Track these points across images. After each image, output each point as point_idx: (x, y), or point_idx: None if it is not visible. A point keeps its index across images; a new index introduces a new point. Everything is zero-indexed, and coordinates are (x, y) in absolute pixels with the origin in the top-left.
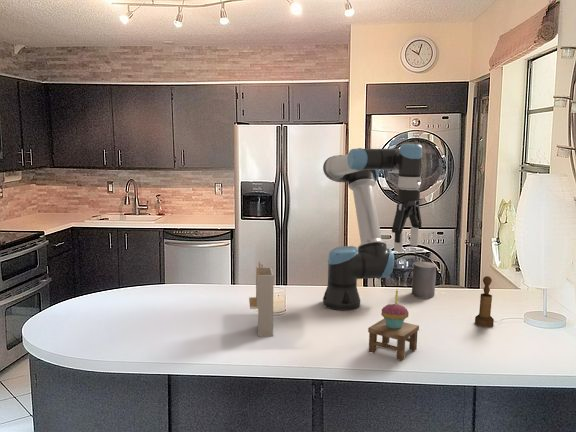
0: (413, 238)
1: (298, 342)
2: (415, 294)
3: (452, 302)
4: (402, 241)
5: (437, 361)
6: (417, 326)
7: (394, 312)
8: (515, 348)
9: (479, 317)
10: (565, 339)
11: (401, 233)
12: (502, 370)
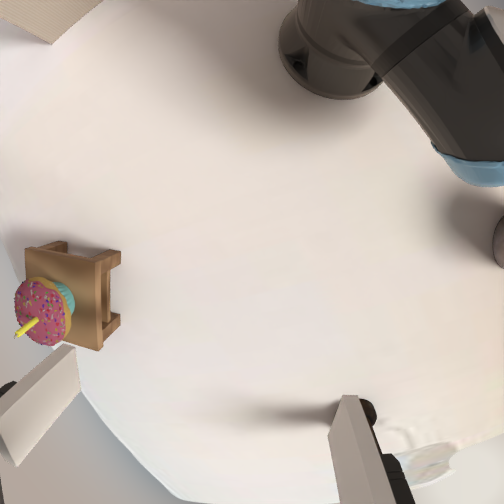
0: (345, 451)
1: (40, 99)
2: (499, 227)
3: (481, 320)
4: (44, 429)
5: (96, 365)
6: (91, 348)
7: (17, 319)
8: (238, 463)
9: None
10: (322, 500)
11: (4, 456)
12: (133, 444)
